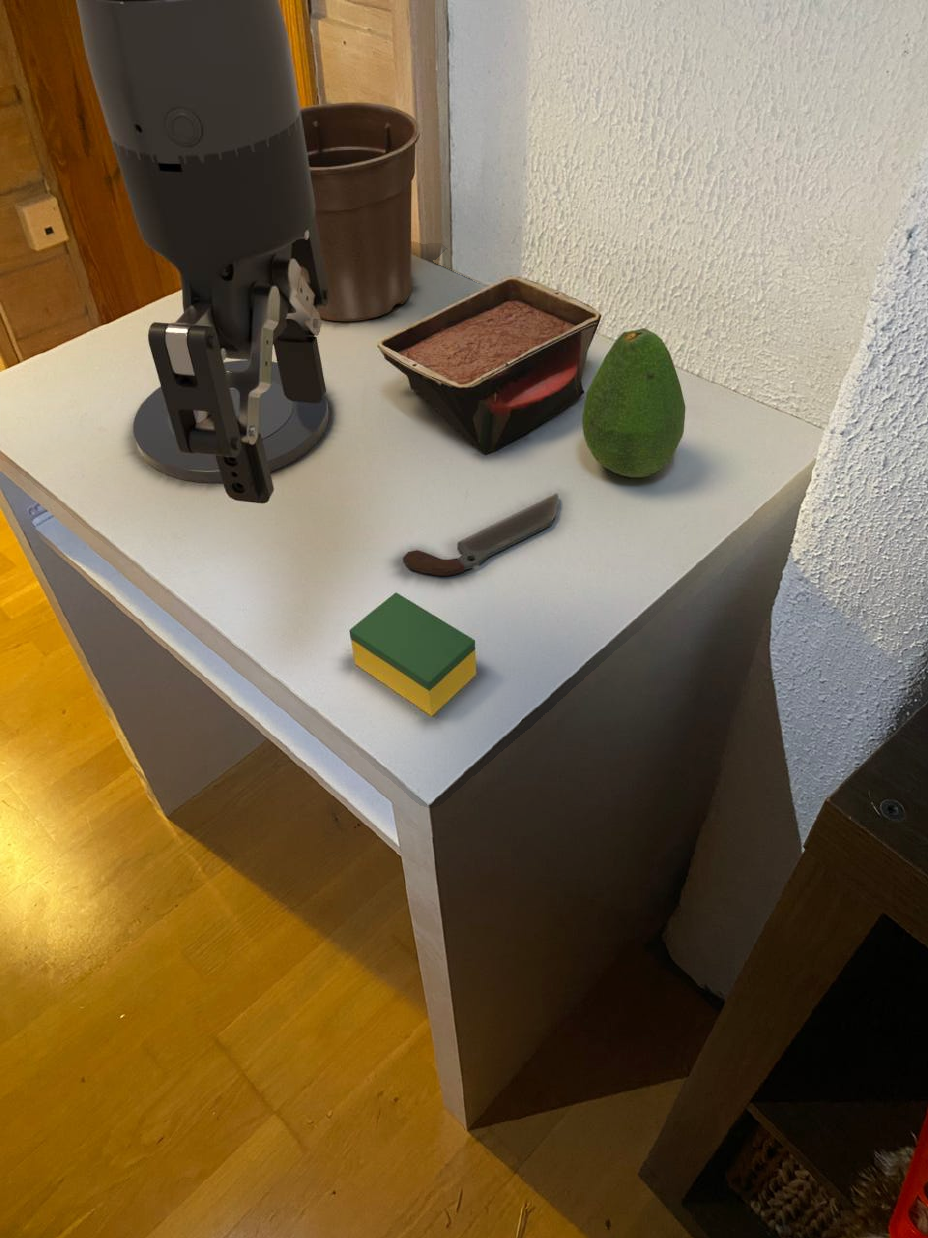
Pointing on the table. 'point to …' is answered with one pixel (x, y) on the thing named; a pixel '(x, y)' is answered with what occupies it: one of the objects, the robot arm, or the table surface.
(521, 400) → the baking dish
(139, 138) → the robot arm
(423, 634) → the sponge
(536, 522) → the knife
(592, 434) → the avocado
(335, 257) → the plant pot
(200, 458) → the plate
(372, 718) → the table surface
